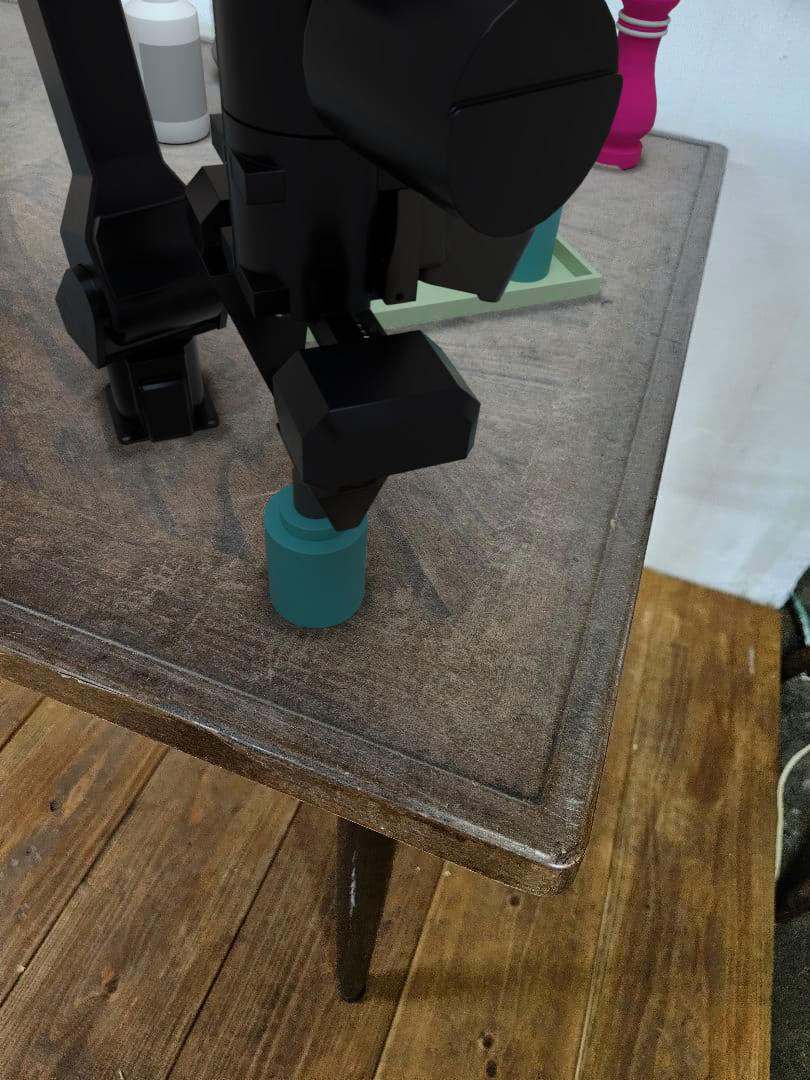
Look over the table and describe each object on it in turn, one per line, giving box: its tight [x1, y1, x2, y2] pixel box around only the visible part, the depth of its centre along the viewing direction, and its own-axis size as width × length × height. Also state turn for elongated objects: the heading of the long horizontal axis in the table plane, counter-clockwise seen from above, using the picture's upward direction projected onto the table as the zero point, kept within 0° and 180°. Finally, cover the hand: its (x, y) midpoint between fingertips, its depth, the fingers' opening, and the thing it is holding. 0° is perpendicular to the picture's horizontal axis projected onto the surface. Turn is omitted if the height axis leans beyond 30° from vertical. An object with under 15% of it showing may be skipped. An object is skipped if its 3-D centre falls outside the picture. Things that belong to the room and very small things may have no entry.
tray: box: [306, 232, 603, 343], centre depth 68 cm, size 11×25×2 cm, turn 112°
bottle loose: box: [263, 466, 369, 629], centre depth 42 cm, size 5×5×9 cm
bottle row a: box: [510, 205, 564, 282], centre depth 67 cm, size 5×5×9 cm
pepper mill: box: [595, 0, 681, 170], centre depth 81 cm, size 7×7×20 cm
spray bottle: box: [123, 0, 210, 145], centre depth 79 cm, size 7×7×18 cm
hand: (314, 459), depth 38 cm, fingers open, 9 cm apart
